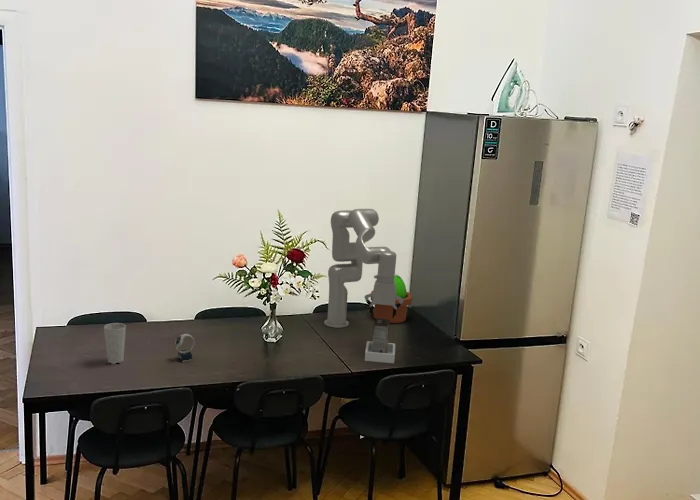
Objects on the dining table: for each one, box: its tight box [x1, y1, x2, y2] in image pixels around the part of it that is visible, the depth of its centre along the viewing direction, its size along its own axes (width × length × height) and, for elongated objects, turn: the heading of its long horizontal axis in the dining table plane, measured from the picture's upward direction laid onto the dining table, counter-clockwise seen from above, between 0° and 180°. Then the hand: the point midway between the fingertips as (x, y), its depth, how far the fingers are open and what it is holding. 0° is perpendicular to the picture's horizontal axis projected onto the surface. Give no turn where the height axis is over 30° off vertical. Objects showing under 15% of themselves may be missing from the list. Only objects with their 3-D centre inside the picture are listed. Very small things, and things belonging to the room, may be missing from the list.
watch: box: [174, 333, 196, 362], centre depth 260 cm, size 6×8×11 cm
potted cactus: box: [370, 274, 413, 324], centre depth 329 cm, size 22×22×25 cm
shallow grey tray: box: [364, 340, 396, 364], centre depth 278 cm, size 14×13×4 cm
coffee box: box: [372, 318, 391, 353], centre depth 277 cm, size 9×6×16 cm
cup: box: [103, 322, 127, 363], centre depth 253 cm, size 8×8×16 cm
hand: (382, 315), depth 275 cm, fingers open, 9 cm apart
